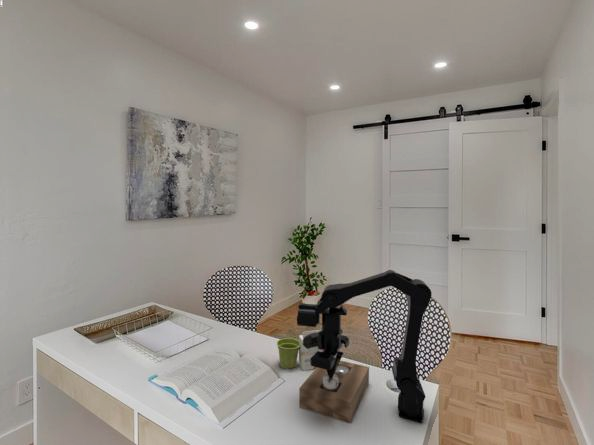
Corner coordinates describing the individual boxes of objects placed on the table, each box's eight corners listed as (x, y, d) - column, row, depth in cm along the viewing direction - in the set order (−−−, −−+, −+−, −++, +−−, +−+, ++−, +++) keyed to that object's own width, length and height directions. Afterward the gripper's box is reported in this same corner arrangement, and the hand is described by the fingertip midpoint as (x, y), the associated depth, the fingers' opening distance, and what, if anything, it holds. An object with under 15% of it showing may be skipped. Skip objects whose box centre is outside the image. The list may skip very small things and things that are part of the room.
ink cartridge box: (319, 361, 125) (319, 325, 124) (323, 367, 120) (324, 329, 119) (298, 364, 122) (298, 327, 121) (302, 371, 117) (302, 332, 117)
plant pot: (301, 360, 126) (301, 338, 125) (299, 372, 116) (300, 349, 116) (277, 358, 127) (278, 337, 126) (274, 370, 117) (275, 347, 117)
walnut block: (368, 384, 109) (369, 367, 109) (350, 423, 89) (350, 402, 89) (325, 373, 116) (325, 357, 116) (299, 407, 96) (299, 388, 96)
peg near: (340, 393, 99) (340, 375, 98) (335, 402, 94) (335, 383, 94) (325, 389, 101) (326, 371, 100) (320, 397, 96) (320, 379, 96)
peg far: (350, 384, 109) (350, 367, 108) (346, 391, 104) (346, 374, 104) (337, 380, 111) (337, 364, 110) (332, 387, 106) (332, 370, 106)
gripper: (318, 314, 108) (318, 358, 109) (293, 333, 92) (293, 386, 92) (349, 319, 103) (349, 366, 104) (330, 341, 87) (329, 396, 87)
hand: (330, 377), depth 97 cm, fingers closed, pressing on peg near
